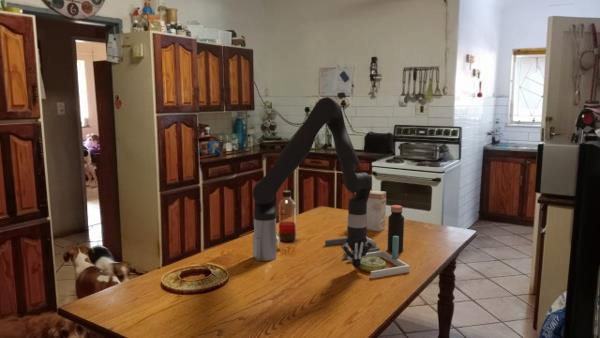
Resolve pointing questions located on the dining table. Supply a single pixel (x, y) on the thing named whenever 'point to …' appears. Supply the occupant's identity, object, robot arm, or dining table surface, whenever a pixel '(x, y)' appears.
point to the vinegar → (395, 227)
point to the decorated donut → (372, 264)
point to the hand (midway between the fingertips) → (356, 267)
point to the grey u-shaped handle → (343, 241)
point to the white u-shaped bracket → (392, 258)
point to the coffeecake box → (376, 210)
